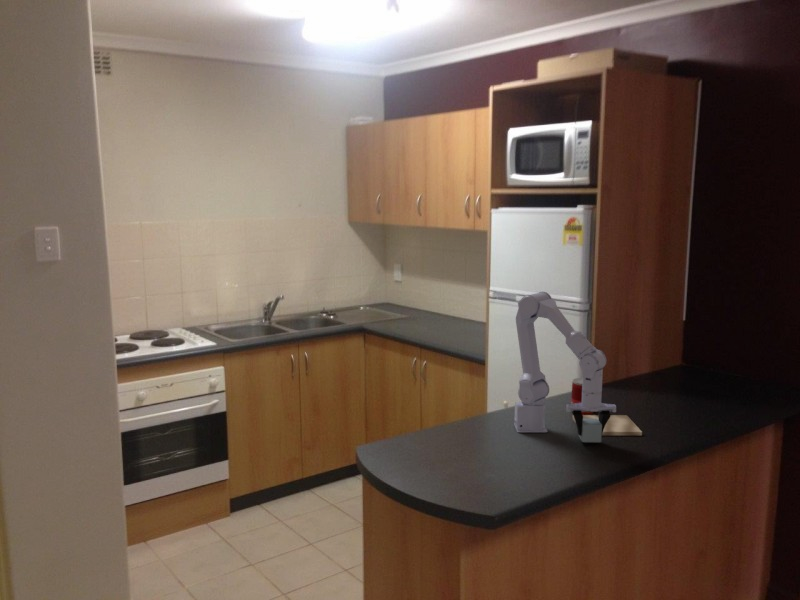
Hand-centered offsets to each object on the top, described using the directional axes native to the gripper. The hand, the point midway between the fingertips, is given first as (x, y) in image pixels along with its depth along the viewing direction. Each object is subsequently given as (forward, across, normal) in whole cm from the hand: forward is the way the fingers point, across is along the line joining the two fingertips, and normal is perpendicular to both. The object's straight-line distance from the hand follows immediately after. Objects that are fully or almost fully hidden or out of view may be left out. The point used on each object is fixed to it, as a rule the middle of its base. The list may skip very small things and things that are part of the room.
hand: (589, 434), depth 215 cm
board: (+3, +9, +15) cm, 18 cm away
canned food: (+3, +5, +30) cm, 31 cm away
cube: (+1, 0, 0) cm, 1 cm away
